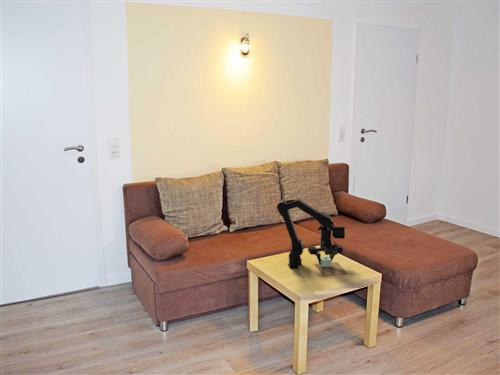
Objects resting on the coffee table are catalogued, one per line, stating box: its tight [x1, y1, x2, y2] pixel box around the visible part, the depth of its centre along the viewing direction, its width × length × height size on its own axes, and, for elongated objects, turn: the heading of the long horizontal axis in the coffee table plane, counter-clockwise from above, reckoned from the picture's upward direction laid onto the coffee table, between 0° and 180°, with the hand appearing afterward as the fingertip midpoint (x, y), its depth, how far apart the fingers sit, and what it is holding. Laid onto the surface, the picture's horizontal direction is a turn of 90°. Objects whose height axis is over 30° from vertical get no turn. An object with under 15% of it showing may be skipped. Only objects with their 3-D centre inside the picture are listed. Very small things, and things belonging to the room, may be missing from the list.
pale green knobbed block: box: [320, 255, 333, 267], centre depth 250 cm, size 6×6×4 cm
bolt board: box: [313, 261, 349, 277], centre depth 247 cm, size 14×18×4 cm
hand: (324, 264), depth 250 cm, fingers closed on pale green knobbed block, 5 cm apart
